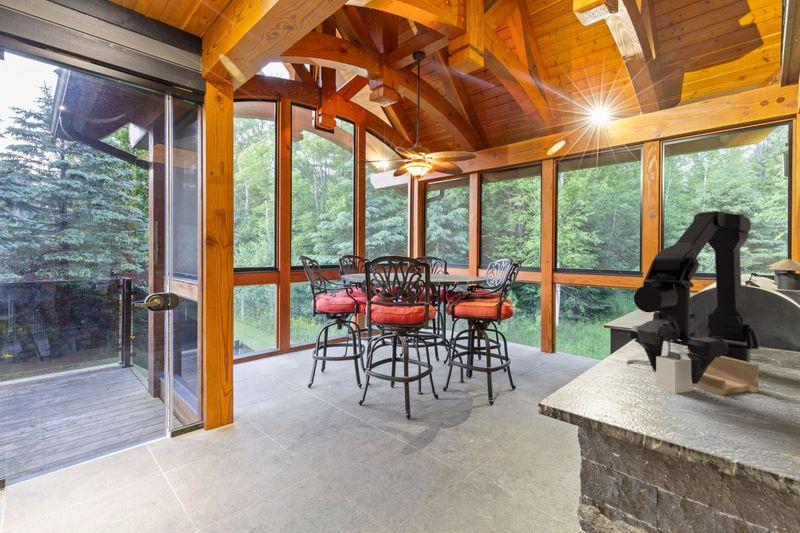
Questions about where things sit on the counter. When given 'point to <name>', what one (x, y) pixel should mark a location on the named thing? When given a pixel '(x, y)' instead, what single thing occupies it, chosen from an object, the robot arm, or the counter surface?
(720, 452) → the counter surface
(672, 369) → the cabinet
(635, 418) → the counter surface
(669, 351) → the hook
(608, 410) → the counter surface
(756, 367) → the board
